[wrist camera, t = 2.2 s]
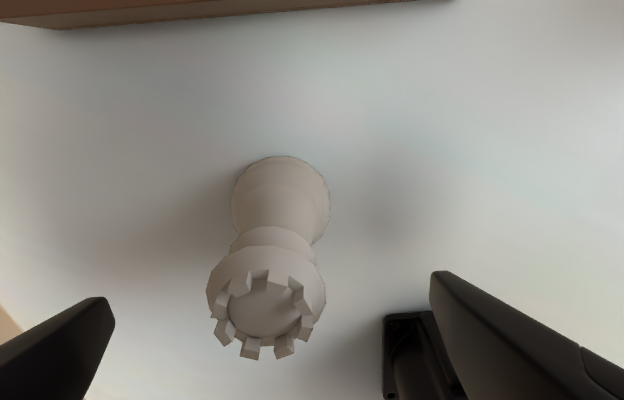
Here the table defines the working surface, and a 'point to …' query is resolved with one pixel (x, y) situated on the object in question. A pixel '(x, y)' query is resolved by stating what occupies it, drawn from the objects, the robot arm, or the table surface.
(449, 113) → the table surface
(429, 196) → the table surface
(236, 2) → the tray
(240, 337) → the rook chess piece
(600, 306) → the table surface
